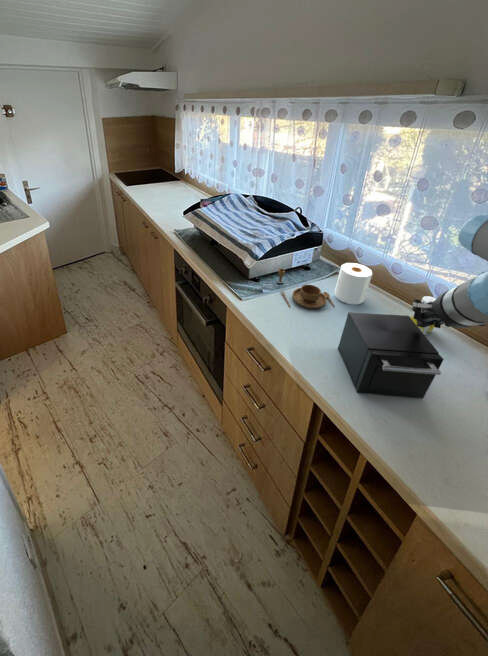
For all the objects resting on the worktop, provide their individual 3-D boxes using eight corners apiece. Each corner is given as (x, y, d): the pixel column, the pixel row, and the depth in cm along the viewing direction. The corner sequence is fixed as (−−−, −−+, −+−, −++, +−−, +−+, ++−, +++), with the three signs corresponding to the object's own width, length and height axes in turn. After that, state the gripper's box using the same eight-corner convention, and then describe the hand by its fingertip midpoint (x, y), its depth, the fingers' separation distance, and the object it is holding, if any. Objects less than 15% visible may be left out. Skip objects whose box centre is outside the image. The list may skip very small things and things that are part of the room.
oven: (419, 392, 79) (439, 353, 72) (354, 387, 81) (368, 348, 74) (393, 352, 91) (408, 315, 85) (337, 348, 93) (348, 312, 86)
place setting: (290, 311, 109) (292, 297, 106) (274, 280, 127) (276, 268, 124) (338, 309, 110) (342, 296, 107) (315, 279, 127) (318, 267, 124)
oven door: (430, 409, 75) (452, 370, 68) (361, 403, 76) (376, 364, 70) (419, 393, 79) (439, 354, 72) (354, 387, 80) (368, 349, 74)
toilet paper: (353, 287, 121) (360, 261, 116) (369, 303, 112) (379, 275, 107) (329, 290, 120) (335, 263, 115) (343, 306, 111) (351, 277, 106)
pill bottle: (431, 327, 101) (444, 298, 95) (431, 338, 96) (445, 309, 91) (407, 320, 104) (419, 292, 99) (406, 330, 99) (419, 302, 94)
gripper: (510, 295, 57) (453, 314, 78) (426, 280, 62) (393, 301, 83) (508, 335, 55) (450, 343, 76) (422, 315, 60) (389, 328, 81)
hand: (420, 321), depth 80 cm, fingers closed
